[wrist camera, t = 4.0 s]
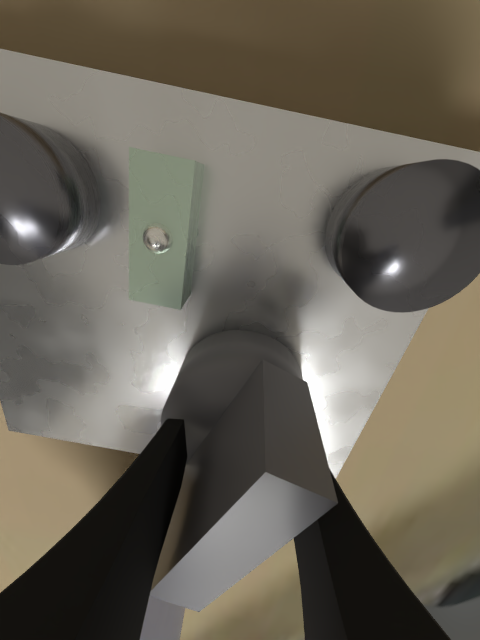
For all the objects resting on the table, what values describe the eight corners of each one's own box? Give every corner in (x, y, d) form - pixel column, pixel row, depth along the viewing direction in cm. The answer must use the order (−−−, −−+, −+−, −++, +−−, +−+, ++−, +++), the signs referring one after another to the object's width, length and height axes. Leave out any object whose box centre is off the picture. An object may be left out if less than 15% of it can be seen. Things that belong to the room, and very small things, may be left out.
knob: (334, 359, 12) (413, 535, 6) (217, 493, 17) (193, 666, 11) (219, 297, 11) (170, 431, 5) (128, 458, 16) (47, 626, 10)
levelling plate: (325, 466, 18) (340, 532, 15) (27, 411, 18) (-30, 467, 14) (476, 162, 10) (589, 148, 7) (-54, 48, 10) (-229, -31, 6)
